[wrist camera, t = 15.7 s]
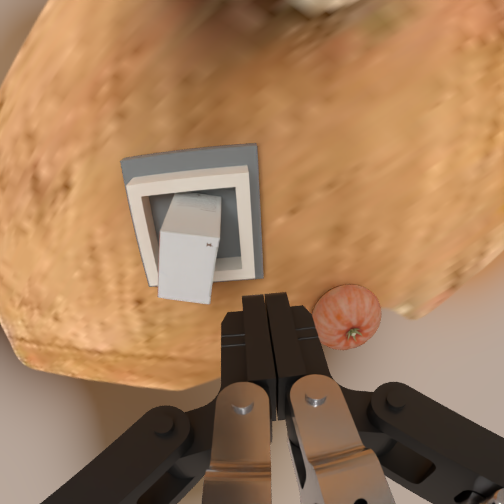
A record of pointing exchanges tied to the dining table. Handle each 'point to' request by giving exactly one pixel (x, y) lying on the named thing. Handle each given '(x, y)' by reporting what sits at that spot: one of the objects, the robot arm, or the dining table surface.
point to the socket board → (203, 182)
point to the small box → (189, 247)
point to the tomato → (346, 317)
